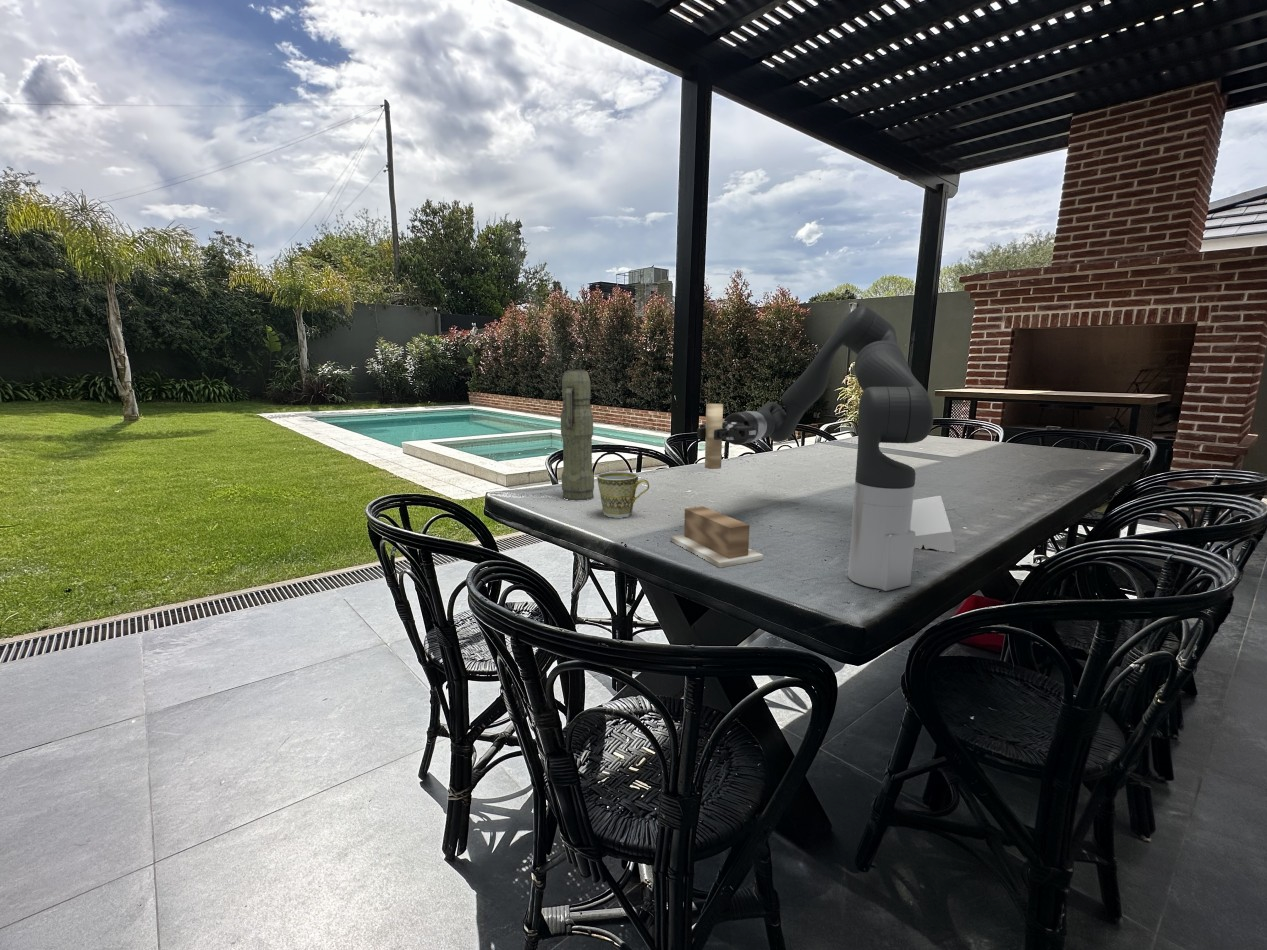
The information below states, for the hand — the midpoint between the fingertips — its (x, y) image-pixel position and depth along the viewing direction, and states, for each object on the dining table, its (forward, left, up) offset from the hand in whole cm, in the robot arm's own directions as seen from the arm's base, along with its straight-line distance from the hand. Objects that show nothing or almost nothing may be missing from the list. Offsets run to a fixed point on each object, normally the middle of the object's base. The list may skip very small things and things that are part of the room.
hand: (707, 434), depth 125 cm
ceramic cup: (+20, +10, -22) cm, 32 cm away
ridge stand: (-12, +5, -22) cm, 25 cm away
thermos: (+43, +13, -22) cm, 50 cm away
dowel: (+1, -3, -8) cm, 8 cm away
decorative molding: (-19, -46, -23) cm, 55 cm away
